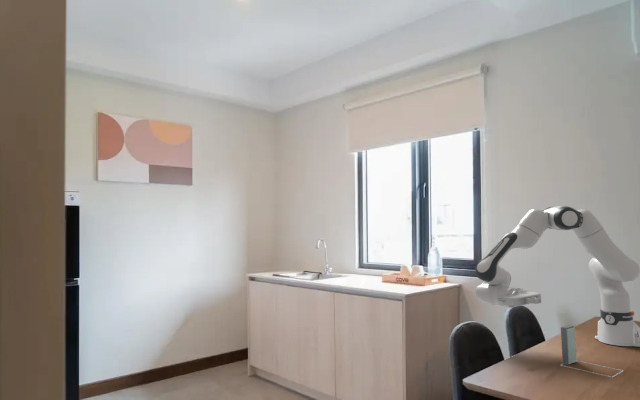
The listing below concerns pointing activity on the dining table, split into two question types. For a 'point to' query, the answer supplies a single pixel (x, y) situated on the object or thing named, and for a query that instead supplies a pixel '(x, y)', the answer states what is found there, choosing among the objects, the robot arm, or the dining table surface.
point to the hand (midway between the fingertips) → (539, 301)
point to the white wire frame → (597, 365)
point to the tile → (568, 344)
